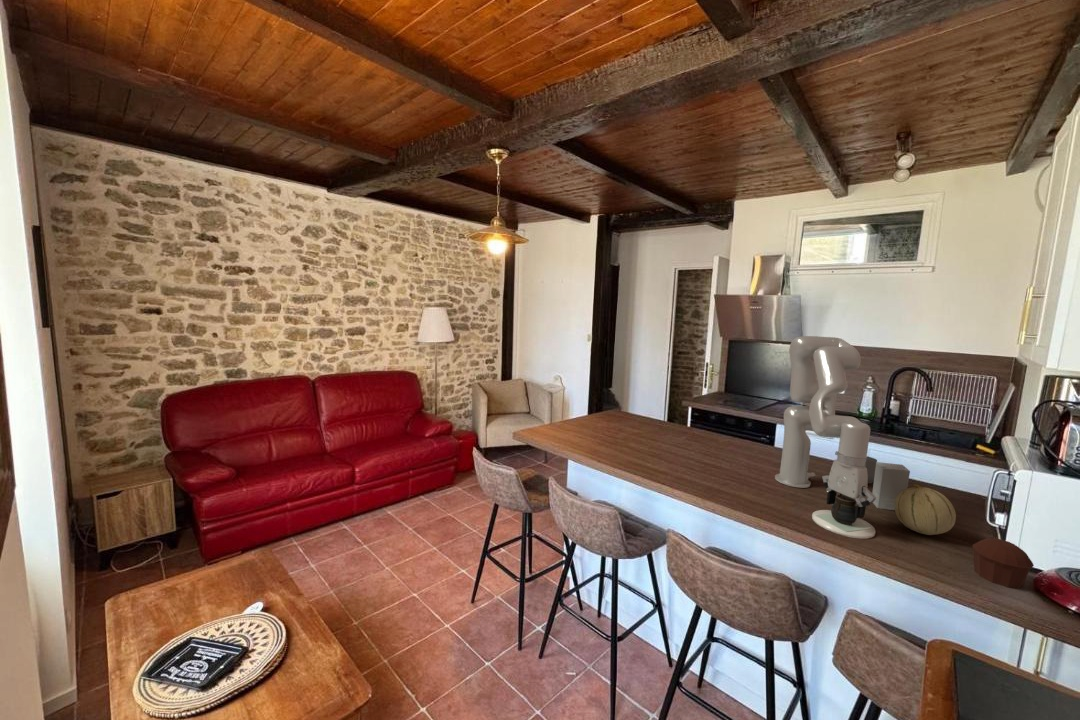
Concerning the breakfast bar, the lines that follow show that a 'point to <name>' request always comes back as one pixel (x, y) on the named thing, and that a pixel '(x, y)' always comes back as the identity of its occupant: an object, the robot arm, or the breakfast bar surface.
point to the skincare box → (889, 484)
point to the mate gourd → (844, 509)
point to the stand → (843, 525)
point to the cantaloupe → (925, 510)
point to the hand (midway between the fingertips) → (844, 510)
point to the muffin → (1001, 562)
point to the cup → (870, 468)
